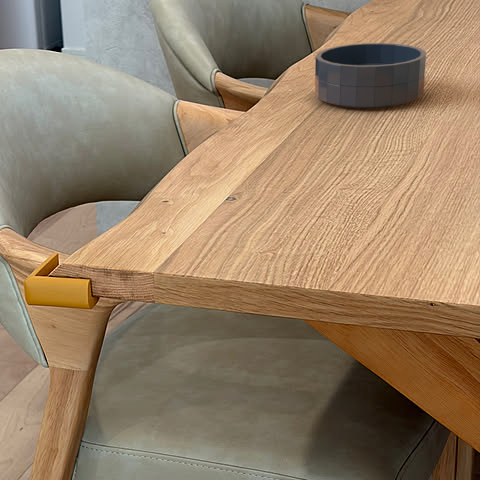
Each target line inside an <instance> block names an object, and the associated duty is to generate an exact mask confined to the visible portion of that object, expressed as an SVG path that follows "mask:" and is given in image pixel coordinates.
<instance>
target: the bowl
mask: <svg viewBox="0 0 480 480" xmlns="http://www.w3.org/2000/svg"><path fill="white" fill-rule="evenodd" d="M314 60H315V61H314V63H315V66H314V67H315V68H314V72H315V73H314V96H315V97H316V98H317V99H318V100H319V101H322V102H325V103H327V104H331V105H334V106H337V107H342V108H347V109H348V108H349V109H358V110H359V109H363V110H364V109H365V110H366V109H368V110H369V109H371V110H373V109H374V110H375V109H385V108H386V109H387V108H393V107H398V106H401V105H404V104H407V103H411V102H413V101H416V100H418V99H420V98H421V97H422V96H424V90H425V89H424V88H425V77H426V76H425V75H426V64H427V63H426V62H427V51H425V50H424V49H422V48H420V47H416V46H413V45H409V44H402V43H389V42H364V43H363V42H362V43H350V44H344V45H337V46H333V47H329V48H325V49H323V50H320V51H319V52H317V53H316V55H315V59H314Z"/></svg>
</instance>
